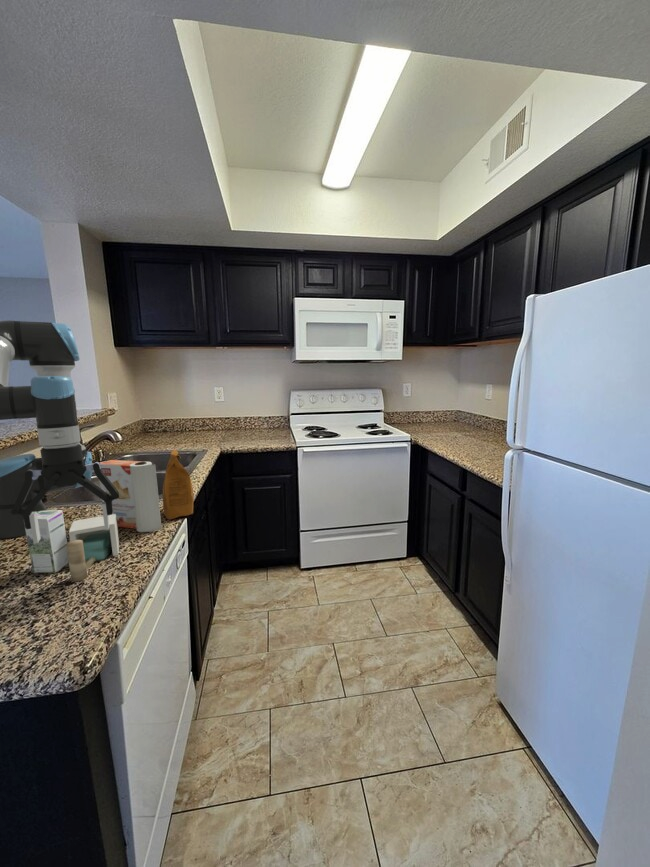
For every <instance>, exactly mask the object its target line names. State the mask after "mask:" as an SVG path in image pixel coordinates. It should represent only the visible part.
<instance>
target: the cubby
mask: <svg viewBox="0 0 650 867" xmlns="http://www.w3.org/2000/svg"><path fill="white" fill-rule="evenodd" d="M108 519H109V530H105V526H104V518H103V515H102V516H95V517H90V518H89V517H88V518H83V519H77V520H73V521H72V523H71V526H70V528H69V530H68V535H69V542H71V541H74V540H82V541H84V540H85V539H86V538H87V537H88V536H89V535H99V534H108V533H109V540H110V548H111V550H112V551H111V552H112V557H116V556H119V553H120V552H119V551H120V550H119V549H120V539H119V538H120V537H119V530H118V529H119V528H118V527H117V520H116V514H112V515H108Z"/></svg>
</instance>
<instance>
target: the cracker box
mask: <svg viewBox="0 0 650 867" xmlns="http://www.w3.org/2000/svg"><path fill="white" fill-rule="evenodd" d="M137 462H142V461H138V460H137V461H136V460H121V459H109V460H107V461H101V462H99V463H100V466H101V470H102V471H103V473H104V474H105V475H106V476H107V478H108V479H109V480H110V481H111V483H112V484H113V485H114V487H115V488H116V489H117V490H118V492H119V498H118V499H114V500H113V501H112V508H113V513H112V514H116V520H117V528H127V529H135V530H137V526H136V517H135V507H134V498H133V489H132V480H131V471H130V464H133V463H137ZM98 481H99V488H101V489H102V490H103V491H105V492H106V493H107V494H109V495H111V494H110V493H109V491H108V490H107V489H106V488H105V486H104V485H103V484H102V482H101V481H100V480H99V479H98ZM102 502H103V500H102V499H101V503H102Z"/></svg>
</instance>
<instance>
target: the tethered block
mask: <svg viewBox="0 0 650 867" xmlns="http://www.w3.org/2000/svg"><path fill="white" fill-rule="evenodd" d="M66 547H67V554H68V561H69V563H68V567H69V572H70V580H71V582H75V583H77V582H78V583H79V582H81V581H84V580H85V579H86V578H88V571H89V569H90V568H91V567H92V566H93V565H94V563H95V562H96V561H101V560H105V559H106V558H107V557H108V555H109V553H110V552H112V551H111V550H112V547H110V540H109V533H108V534H99V535H89V536H88V537H87V538H86V539H85V540H84V541H82V540H74V541H71V542H70V541H69V542H67V544H66Z"/></svg>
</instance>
